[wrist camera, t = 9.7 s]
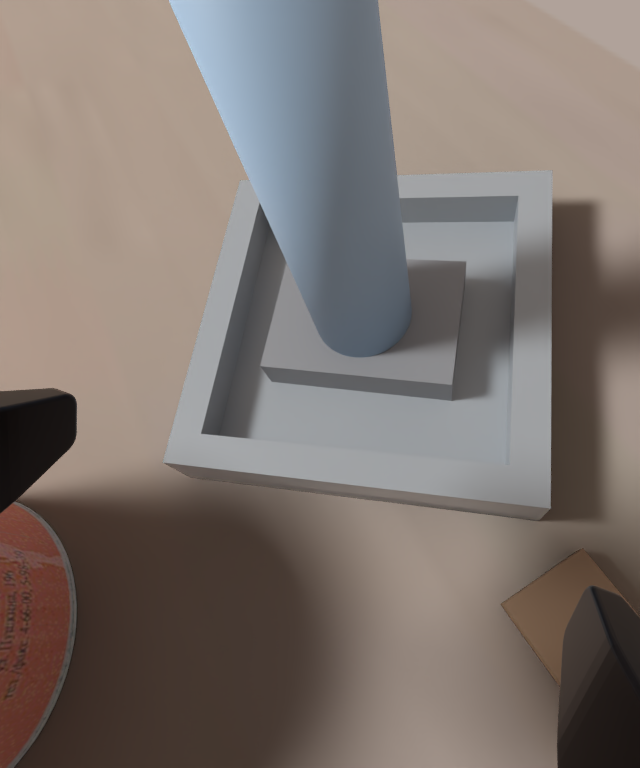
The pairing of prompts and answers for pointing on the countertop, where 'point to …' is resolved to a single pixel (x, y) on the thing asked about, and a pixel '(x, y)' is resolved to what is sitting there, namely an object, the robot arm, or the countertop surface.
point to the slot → (554, 606)
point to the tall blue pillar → (328, 194)
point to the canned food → (32, 627)
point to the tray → (385, 411)
